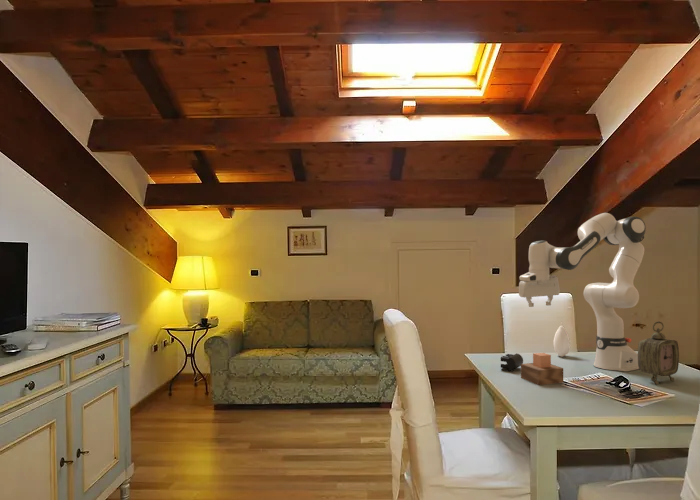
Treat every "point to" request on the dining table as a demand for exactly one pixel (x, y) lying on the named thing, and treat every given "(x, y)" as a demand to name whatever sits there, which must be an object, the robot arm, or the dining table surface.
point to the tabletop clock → (658, 355)
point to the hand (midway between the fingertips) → (539, 306)
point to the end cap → (511, 362)
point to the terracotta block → (541, 360)
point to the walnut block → (542, 374)
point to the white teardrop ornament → (561, 341)
